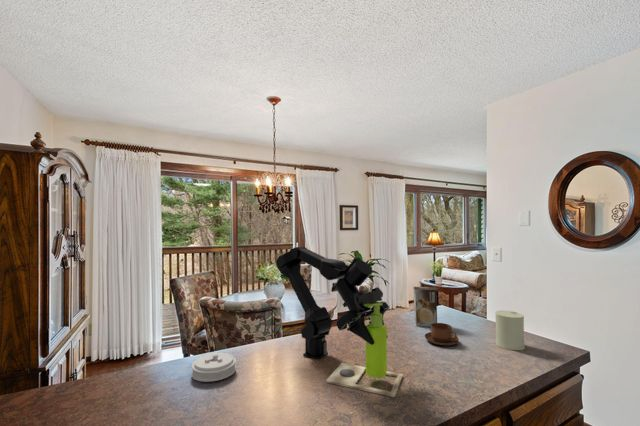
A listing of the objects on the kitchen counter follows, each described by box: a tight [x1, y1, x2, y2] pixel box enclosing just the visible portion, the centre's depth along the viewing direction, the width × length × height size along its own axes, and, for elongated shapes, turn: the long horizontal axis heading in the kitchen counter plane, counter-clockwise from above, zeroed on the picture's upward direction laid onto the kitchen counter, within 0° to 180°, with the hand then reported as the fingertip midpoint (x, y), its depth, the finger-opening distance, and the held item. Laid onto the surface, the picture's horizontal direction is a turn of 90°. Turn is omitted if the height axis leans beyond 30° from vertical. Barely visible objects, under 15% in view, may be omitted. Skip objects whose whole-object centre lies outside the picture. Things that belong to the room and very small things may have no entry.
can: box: [494, 310, 526, 351], centre depth 118 cm, size 9×9×12 cm
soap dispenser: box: [364, 301, 388, 379], centre depth 91 cm, size 6×7×20 cm
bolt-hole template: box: [326, 362, 404, 398], centre depth 92 cm, size 19×12×1 cm, turn 66°
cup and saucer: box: [424, 322, 460, 347], centre depth 121 cm, size 12×12×6 cm
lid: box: [191, 352, 237, 383], centre depth 96 cm, size 13×13×5 cm
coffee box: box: [413, 286, 438, 327], centre depth 142 cm, size 9×6×16 cm
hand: (380, 341), depth 91 cm, fingers closed on soap dispenser, 6 cm apart
